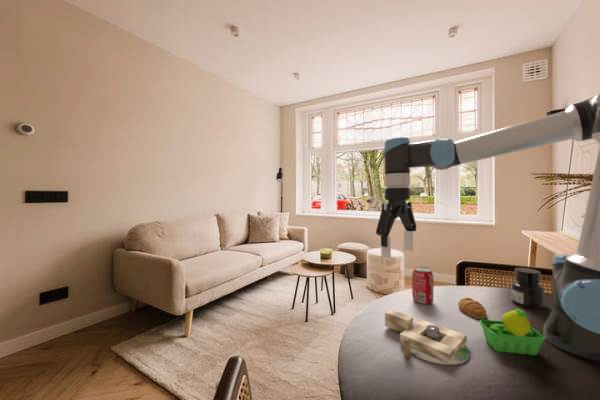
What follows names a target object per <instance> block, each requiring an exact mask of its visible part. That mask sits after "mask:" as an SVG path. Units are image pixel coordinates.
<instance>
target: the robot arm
mask: <svg viewBox="0 0 600 400" xmlns="http://www.w3.org/2000/svg"><path fill="white" fill-rule="evenodd" d="M592 139H593V140H595V141H596V142H597V143H598V144H599V145H600V93H598V94H596V95H594V96H593V97H590V98H588V99H585V100H582V101H579V102H576V103H573V104H570V105H569V106H567V108H566V109H565V110H563V111H560V112H559V111H558V112H555V113H553V114H549V115H545V116H541V117H537V118H534V119H531V120H526V121H524V122H520V123H516V124H514V125H509V126H505V127H503V128H498V129H495V130H492V131H489V132H485V133H481V134H477V135H475V136H470V137H467V138H463V139H460V140H456V141H454V140H453V139H452V138H436V139H432V140H424V141H418V142H410V138H409V137H405V136H400V137H391V138H388V139H386V140H385V143H384V152H383V156H384V186H385V187H386V188H384V199H385V200H387V201H388V202H382V203H381V211H380V212H381V213H380V216H379V219H378V223H377V225H376V231H375V234H376V235H377V236H380V247H381V248H380V250H381V252H380V255H381V256H380V257H382V258H387V259H391V255H392V254H391V253H392V252H391V235H390V233H391V230H392V228H393V225H394V224H395V221H396V219H398V218H399V220H400V221H401V224H402V225H403V227H404V230H403V250H404V251H407V252H408V251H409V252H413V251H414V249H413V248H414V243H413V242H414V237H413V236H414V235H413V232H416V231H417V224H416V220H415V216H414V211H413V207H412V205H413V204H412V201H408V200H410V199H411V189H410V188H409V187H410V186H411V177H410V175H411V174H410V172H411V171H410V170H411V168H423V167H424V168H426V167H430V168H433V169H435V170H439V171H443V170H448V169H450V168H452V167H457V166H461V165H463V164H468V163H472V162H477V161H482V160H487V159H491V158H494V157H495V158H496V157H500V156H503V155H507V154H512V153H516V152H521V151H525V150H529V149H535V148H538V147H542V146H548V145H553V144H557V143H561V142H565V141H569V140H574V141H577V142H583V141H588V140H592ZM551 266H552V303H551V304H552V305H551V307H552V308H551V310H550V313H549V315H548V317H547V319H546V321H545V323H544V325H543V332H542V333H543V334H542V336H544V337H545V339H544V340H547V342H549V343H550V344H551V345H552V346H555V347H557V348H558V349H560V350H561V351H565V352H567V353H569V354H571V355H574V356H576V357H580V358H584V359H587V360H590V361H595V362H600V146H599V147H598V153H597V158H596V162H595V166H594V172H593V175H592V181H591V185H590V190H589V195H588V199H587V205H586V209H585V214H584V216H583V223H582V227H581V233H580V237H579V242H578V246H577V251H576V252H575V253H572V254H555V255H554V256H553V258H552V263H551Z"/></svg>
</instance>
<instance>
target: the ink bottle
mask: <svg viewBox="0 0 600 400" xmlns="http://www.w3.org/2000/svg"><path fill="white" fill-rule="evenodd" d="M541 275H542V274H541V271H540V270H537V269H534V268H526V267H515V268H514V279H515V280H514V281H512V282H511V285H510V286H511V287H510V288H511V290H510V292H511V293H510V294H511V295H510V300H511V302H512V303H513V304H515V305H517V306H520V307H524V308H528V309H534V310H540V309H544V308H545V292H546V291H545V288H544V287H543V285H541V277H542V276H541Z"/></svg>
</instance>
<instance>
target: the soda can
mask: <svg viewBox="0 0 600 400" xmlns="http://www.w3.org/2000/svg"><path fill="white" fill-rule="evenodd" d="M411 276H412V277H411V278H412V280H411V282H412V284H411V286H412V287H411V293H412V299H413V301H415V302H416V303H418V302H419V303H418V304H420V303H423V304H422V305H429V304H428V303H430V304H431V303H434V274H433V272H432V269H431V268H429V267H425V266H416V267H413V271H412V275H411Z"/></svg>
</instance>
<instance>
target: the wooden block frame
mask: <svg viewBox="0 0 600 400" xmlns="http://www.w3.org/2000/svg"><path fill="white" fill-rule="evenodd" d="M428 325H433V326H436V327H438V328H439V334H440V340H441V341H440V342H437V341H435V340H432V339H430V338H427V337H425V336H427V326H428ZM384 326H385V327H387V328H389V329H392V330H394V331H397V332H399V342H400V343H401V342H402V343H403V339H404V338H408V339H410V340H411V347H414V348H416V349H418V350H421V351H423V352H425V353H427V354H430V355H432V356H434V357H437V358H439V359H441V360H443V361H446V362H448V363H450V362H451V361H452V360H453V358H454V357H455V356H456V355H457V354H458V352H459V351H460V350H461V349H462V348H463V347H464V345H467V343H468V341H467V339H468V338H467V334H465V333H462V332H458V331H456V330H453V329H449V328H448V327H444V326H442V325H440V324H439V325H438V324H436V323H433V322H430V321H427V320H424V319H421V318H420V319H418V320H417V321H416V322H414V317H413V316H411V315H408V314H404V313H401V312H400V311H396V310H393V309H390V308H389V310H387V311H384Z"/></svg>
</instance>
